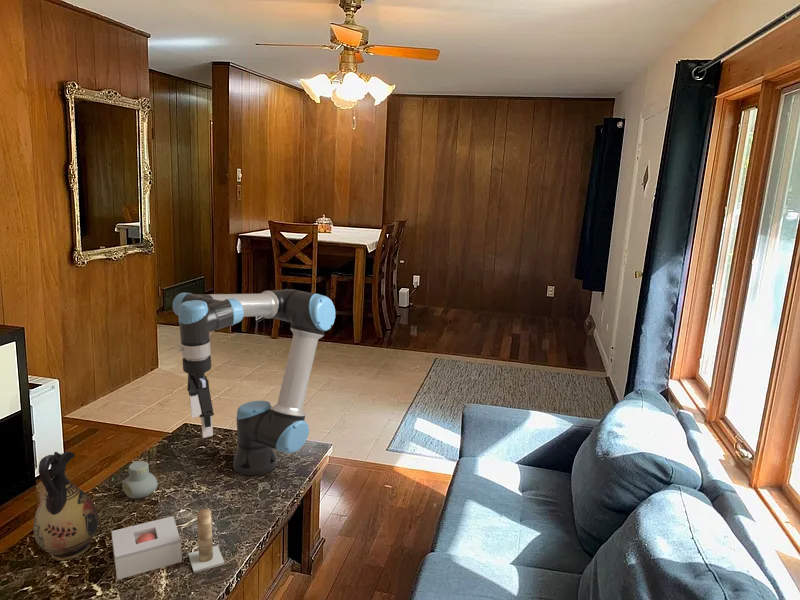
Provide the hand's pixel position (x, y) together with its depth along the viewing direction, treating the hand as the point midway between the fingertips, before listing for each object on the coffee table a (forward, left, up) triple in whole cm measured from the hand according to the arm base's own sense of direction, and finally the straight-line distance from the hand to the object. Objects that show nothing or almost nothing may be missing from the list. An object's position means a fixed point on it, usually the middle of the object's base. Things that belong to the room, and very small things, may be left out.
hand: (201, 426), depth 172 cm
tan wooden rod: (+3, +16, -31) cm, 35 cm away
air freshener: (+15, -26, -32) cm, 44 cm away
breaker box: (+17, +8, -32) cm, 37 cm away
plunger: (+17, +8, -31) cm, 36 cm away
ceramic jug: (+36, -4, -32) cm, 49 cm away
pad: (+3, +16, -32) cm, 36 cm away
